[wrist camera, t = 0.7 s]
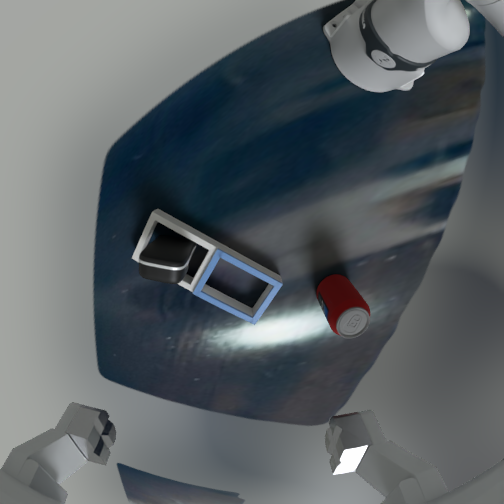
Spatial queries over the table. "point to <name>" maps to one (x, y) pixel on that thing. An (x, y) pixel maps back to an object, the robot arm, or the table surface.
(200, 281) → the tray
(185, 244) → the battery charger
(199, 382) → the table surface
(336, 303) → the beverage can
